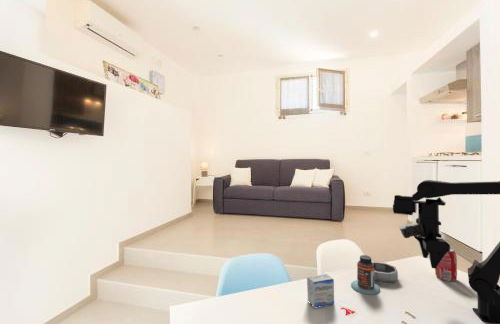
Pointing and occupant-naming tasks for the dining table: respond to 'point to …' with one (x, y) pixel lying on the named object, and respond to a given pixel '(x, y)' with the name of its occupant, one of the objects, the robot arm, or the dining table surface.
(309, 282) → the medicine box
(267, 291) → the dining table surface
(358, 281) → the supplement bottle
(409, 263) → the dining table surface
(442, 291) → the dining table surface
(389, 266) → the grey octagonal bowl
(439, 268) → the soda can
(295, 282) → the dining table surface
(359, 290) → the teal mat
